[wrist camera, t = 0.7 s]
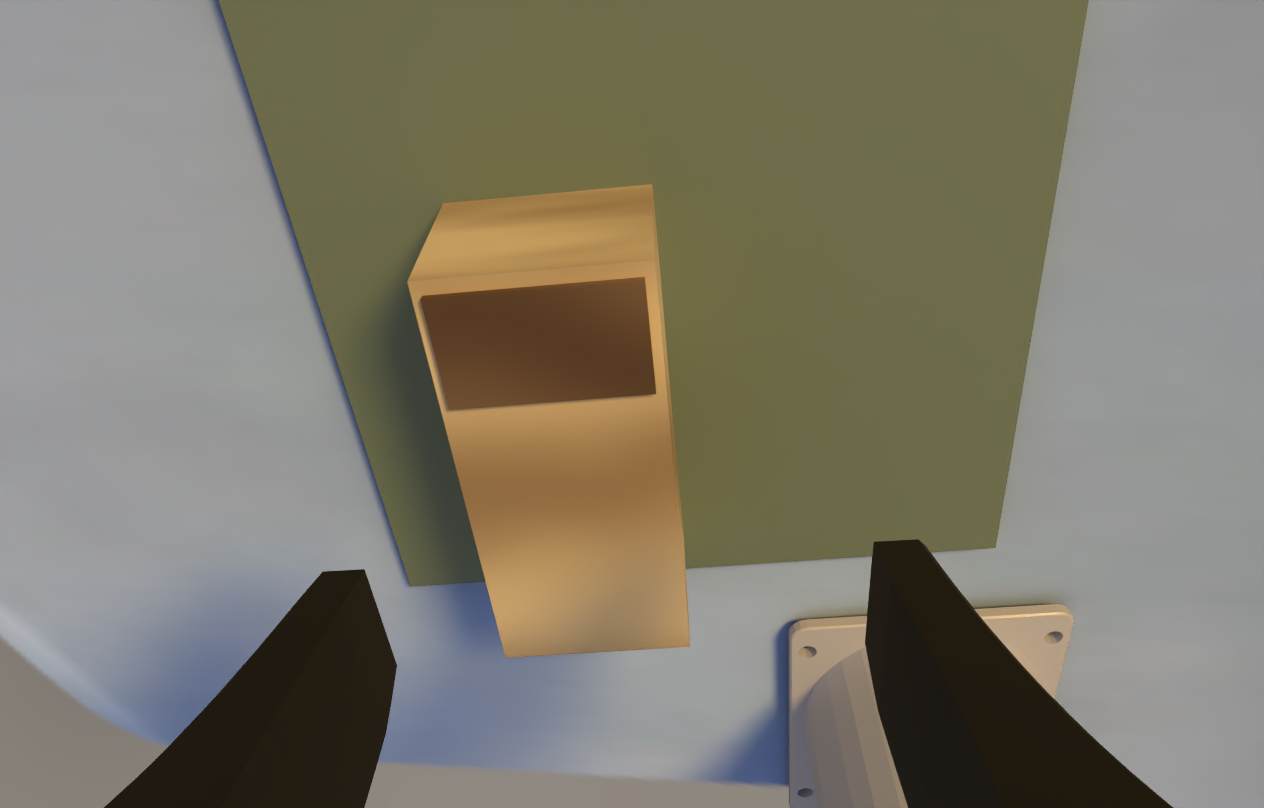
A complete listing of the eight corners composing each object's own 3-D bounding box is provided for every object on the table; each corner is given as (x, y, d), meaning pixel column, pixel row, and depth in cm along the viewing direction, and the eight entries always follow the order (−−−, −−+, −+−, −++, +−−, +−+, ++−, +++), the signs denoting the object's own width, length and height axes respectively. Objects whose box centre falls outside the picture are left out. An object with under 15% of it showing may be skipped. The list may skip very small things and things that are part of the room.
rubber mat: (990, 537, 25) (995, 547, 25) (413, 575, 26) (410, 586, 26) (1223, -880, 12) (1241, -899, 11) (5, -690, 12) (-12, -704, 12)
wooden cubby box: (683, 541, 25) (690, 651, 22) (521, 552, 25) (504, 663, 22) (652, 184, 19) (655, 264, 16) (442, 203, 19) (405, 285, 16)
